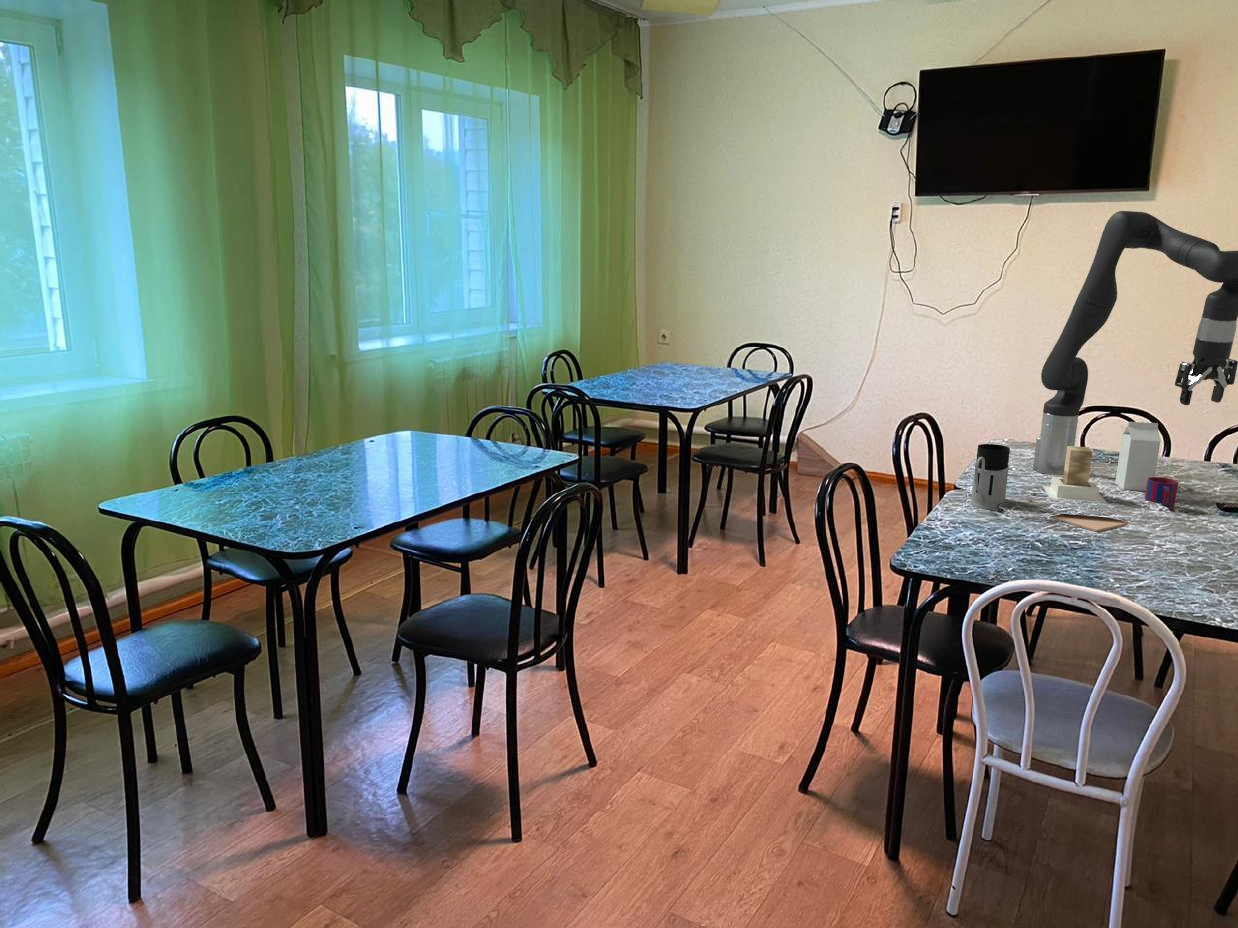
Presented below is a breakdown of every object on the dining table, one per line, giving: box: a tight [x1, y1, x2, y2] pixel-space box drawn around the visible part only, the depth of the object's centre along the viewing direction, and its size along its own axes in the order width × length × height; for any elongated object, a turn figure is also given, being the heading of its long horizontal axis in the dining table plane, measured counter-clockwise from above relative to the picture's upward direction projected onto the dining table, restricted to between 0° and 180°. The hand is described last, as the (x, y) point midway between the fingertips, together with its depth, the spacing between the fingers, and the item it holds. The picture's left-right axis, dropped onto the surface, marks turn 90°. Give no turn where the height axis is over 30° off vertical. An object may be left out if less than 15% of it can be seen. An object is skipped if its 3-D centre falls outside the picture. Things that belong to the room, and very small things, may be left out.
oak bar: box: [1062, 446, 1093, 487], centre depth 238 cm, size 5×5×12 cm
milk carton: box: [1114, 421, 1161, 492], centre depth 245 cm, size 7×7×19 cm
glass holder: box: [968, 443, 1011, 511], centre depth 230 cm, size 9×14×15 cm, turn 137°
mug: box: [1144, 476, 1179, 510], centre depth 233 cm, size 7×10×7 cm
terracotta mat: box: [1050, 513, 1129, 532], centre depth 221 cm, size 12×12×1 cm
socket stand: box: [1042, 476, 1107, 504], centre depth 239 cm, size 13×13×4 cm
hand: (1199, 403), depth 223 cm, fingers open, 8 cm apart
